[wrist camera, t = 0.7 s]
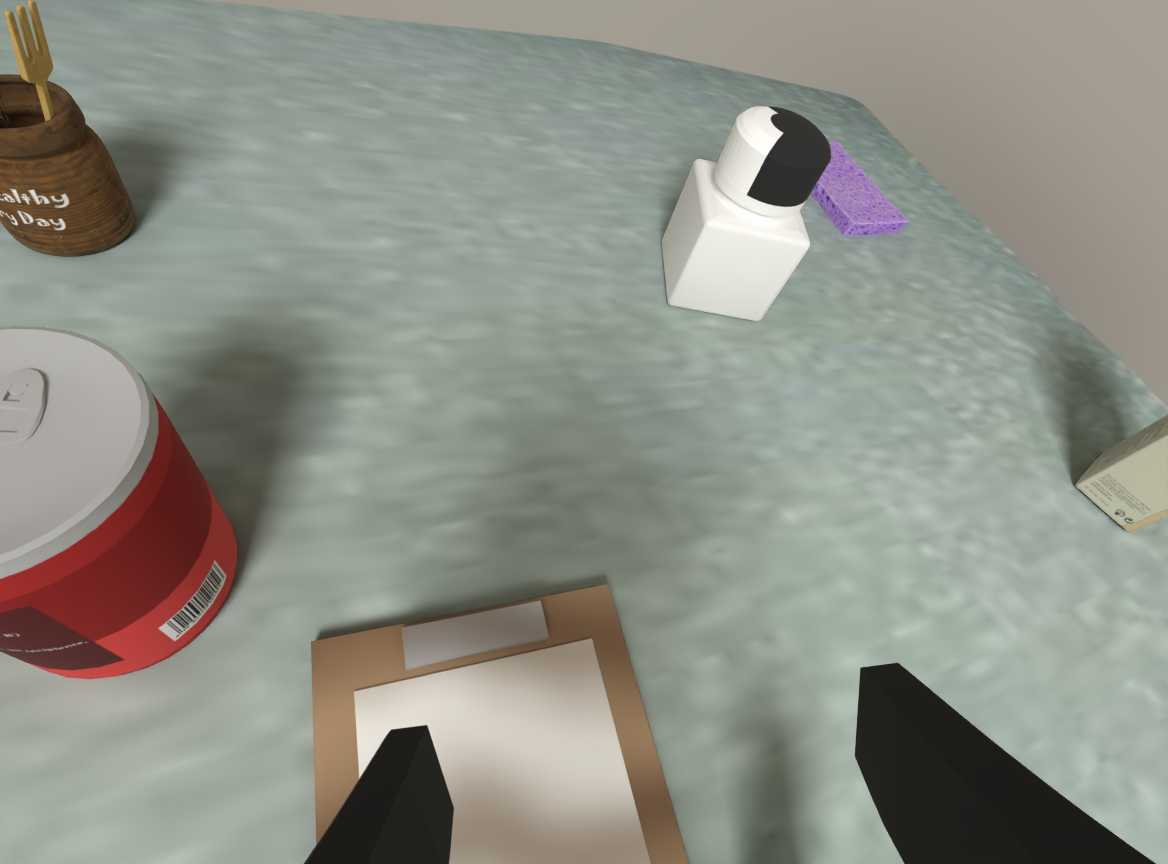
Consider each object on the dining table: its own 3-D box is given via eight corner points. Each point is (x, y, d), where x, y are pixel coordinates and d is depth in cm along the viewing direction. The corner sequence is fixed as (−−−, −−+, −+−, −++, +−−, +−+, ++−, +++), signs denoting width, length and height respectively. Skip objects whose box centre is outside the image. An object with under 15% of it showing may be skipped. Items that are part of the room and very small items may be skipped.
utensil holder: (60, 180, 35) (-77, -69, 25) (167, 214, 35) (72, -19, 26) (-20, 239, 31) (-213, -24, 22) (99, 275, 32) (-39, 33, 22)
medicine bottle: (745, 259, 46) (831, 108, 37) (760, 324, 42) (861, 174, 33) (659, 241, 45) (725, 80, 36) (666, 307, 41) (742, 145, 31)
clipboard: (728, 1025, 21) (742, 1033, 20) (330, 1223, 16) (324, 1245, 16) (604, 588, 29) (610, 580, 28) (313, 644, 24) (309, 637, 23)
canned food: (238, 479, 27) (153, 311, 19) (249, 649, 24) (149, 541, 15) (31, 514, 25) (-186, 336, 16) (6, 713, 21) (-295, 626, 12)
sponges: (840, 240, 52) (853, 223, 51) (773, 155, 58) (782, 137, 57) (897, 238, 55) (911, 221, 53) (827, 156, 61) (838, 139, 59)
